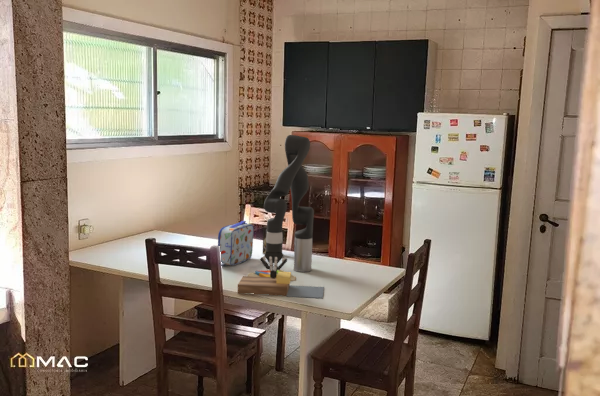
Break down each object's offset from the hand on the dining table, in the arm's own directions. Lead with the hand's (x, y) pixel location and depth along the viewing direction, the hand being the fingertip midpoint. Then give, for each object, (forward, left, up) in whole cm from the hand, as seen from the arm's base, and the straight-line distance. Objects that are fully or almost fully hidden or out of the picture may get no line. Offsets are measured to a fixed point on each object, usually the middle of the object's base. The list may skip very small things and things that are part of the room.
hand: (273, 278), depth 254 cm
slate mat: (+2, +15, -5) cm, 16 cm away
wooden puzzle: (-17, -3, -6) cm, 18 cm away
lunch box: (-45, -26, -5) cm, 52 cm away
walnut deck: (+2, -4, -5) cm, 7 cm away
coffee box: (-66, -9, -5) cm, 67 cm away
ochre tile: (0, +5, 0) cm, 5 cm away
